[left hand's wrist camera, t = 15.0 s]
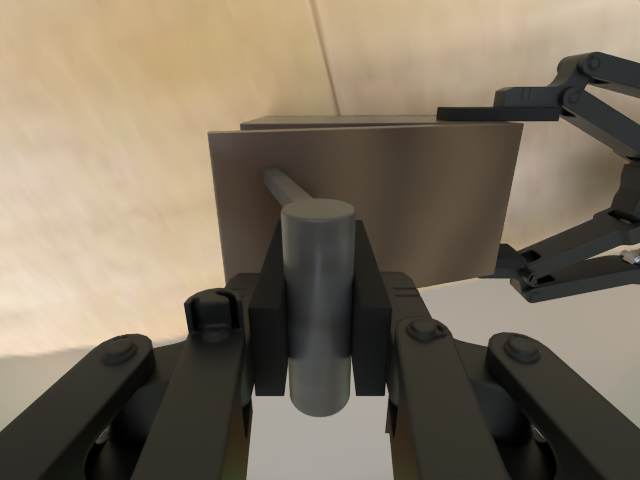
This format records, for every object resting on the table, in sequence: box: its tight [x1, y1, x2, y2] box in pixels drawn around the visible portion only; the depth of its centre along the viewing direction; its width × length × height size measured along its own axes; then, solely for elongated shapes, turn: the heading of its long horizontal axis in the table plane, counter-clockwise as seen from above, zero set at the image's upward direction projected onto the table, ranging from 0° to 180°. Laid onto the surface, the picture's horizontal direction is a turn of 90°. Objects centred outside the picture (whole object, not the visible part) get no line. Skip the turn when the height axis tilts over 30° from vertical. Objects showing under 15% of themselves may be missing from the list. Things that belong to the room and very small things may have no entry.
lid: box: [208, 122, 524, 417], centre depth 15 cm, size 16×9×9 cm, turn 90°
